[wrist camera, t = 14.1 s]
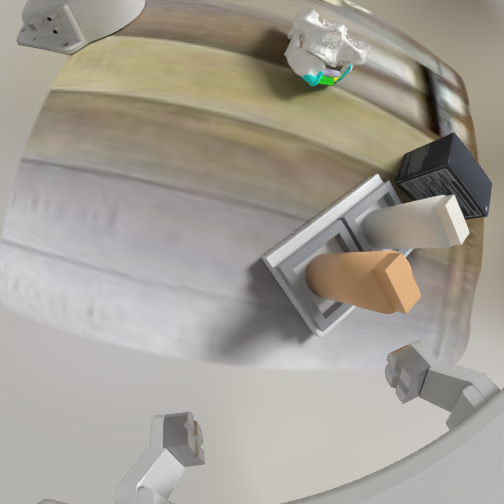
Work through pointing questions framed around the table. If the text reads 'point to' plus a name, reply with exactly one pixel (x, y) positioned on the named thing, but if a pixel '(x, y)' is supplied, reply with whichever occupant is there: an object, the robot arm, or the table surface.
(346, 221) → the grey base with column
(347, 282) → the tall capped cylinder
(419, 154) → the small box
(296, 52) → the partial skull model
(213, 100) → the table surface
